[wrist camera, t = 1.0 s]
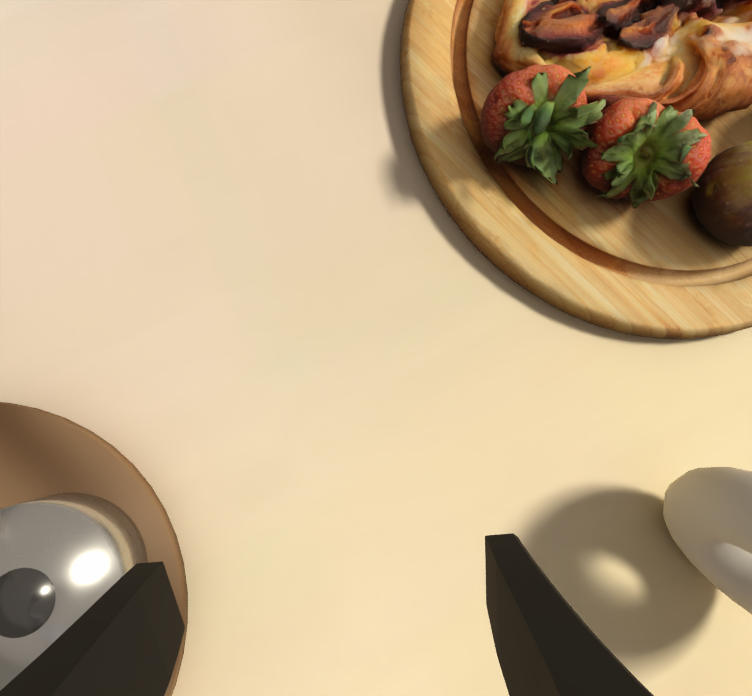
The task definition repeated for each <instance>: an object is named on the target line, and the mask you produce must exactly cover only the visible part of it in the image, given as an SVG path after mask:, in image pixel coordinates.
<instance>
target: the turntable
mask: <svg viewBox="0 0 752 696" xmlns="http://www.w3.org/2000/svg"><path fill="white" fill-rule="evenodd" d="M68 492H76V493H86V494H91V495H95V496H98V497H101V498H104V499H106V500H108V501H110V502H112V503H113V504H115V505H116V506H118V507H119V508H121V509H122V510H123V511H124V512H125V513H126V514H127V515H128V516H129V517H130V518H131V519H132V521H133V522H134V523H135V525H136V526H137V528H138V530H139V531H140V533H141V536H142V538H143V540H144V544H145V547H146V551H147V559H148V563H149V562H161V561H163V563H164V566H165V569H166V572H167V575H168V578H169V581H170V584H171V587H172V590H173V592H174V595H175V598H176V601H177V604H178V607H179V610H180V613H181V616H182V619H183V622H184V625H185V630H184V634H183V638H182V641H181V645H180V649H179V653H178V656H177V660H176V663H175V666H174V670H173V673H172V676H171V680H170V682H169V685H168V687H167V690H166V693H165V695H164V696H172V693H173V691H174V688H175V685H176V682H177V678H178V674H179V670H180V666H181V662H182V658H183V654H184V646H185V639H186V631H187V623H188V592H187V584H186V576H185V569H184V562H183V558H182V555H181V551H180V547H179V544H178V540H177V536H176V534H175V531H174V529H173V527H172V524H171V522H170V520H169V517H168V515H167V512H166V510H165V508H164V507H163V505H162V503H161V502H160V500H159V498H158V497H157V495H156V493H155V492H154V490H153V489H152V487H151V485H150V484H149V483H148V482H147V481H146V479H145V478H144V477H143V476H142V474H141V473H140V472H139V471H138V470H137V468H136V467H135V466H134V465H133V464H132V463H131V462H130V461H129V460H128V459H127V458H126V457H124V456H123V455H122V454H121V453H120V452H119V451H118V450H117V449H116V448H115V447H114V446H112V445H111V444H109V443H108V442H106V441H105V440H103V439H102V438H101V437H99V436H98V435H96V434H95V433H93V432H92V431H90V430H88V429H86V428H84V427H82V426H80V425H78V424H76V423H74V422H72V421H70V420H68V419H66V418H64V417H61V416H58V415H55V414H52V413H49V412H46V411H43V410H40V409H37V408H32V407H27V406H22V405H17V404H12V403H4V402H0V509H2V508H5V507H9V506H13V505H16V504H20V503H23V502H27V501H30V500H34V499H37V498H41V497H45V496H48V495H53V494H58V493H68Z"/></svg>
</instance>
